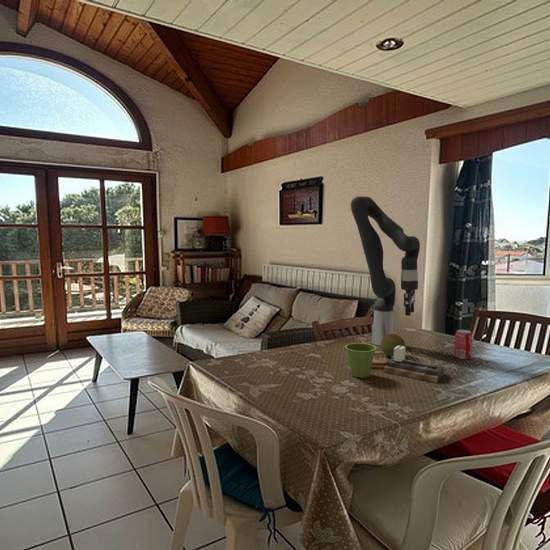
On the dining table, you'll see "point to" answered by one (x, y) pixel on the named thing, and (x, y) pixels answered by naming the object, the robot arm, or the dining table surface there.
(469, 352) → the soda can
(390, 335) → the fruit
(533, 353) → the dining table surface
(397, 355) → the fader knob
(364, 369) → the plant pot
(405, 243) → the robot arm
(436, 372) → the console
